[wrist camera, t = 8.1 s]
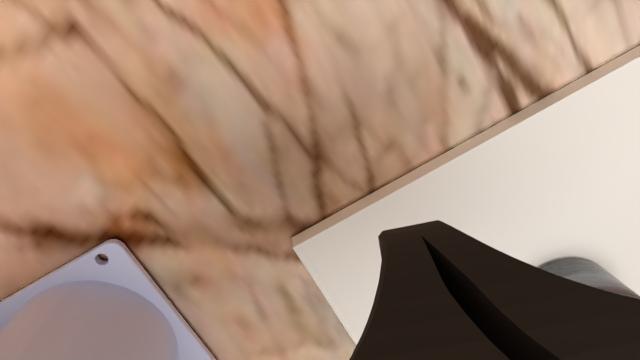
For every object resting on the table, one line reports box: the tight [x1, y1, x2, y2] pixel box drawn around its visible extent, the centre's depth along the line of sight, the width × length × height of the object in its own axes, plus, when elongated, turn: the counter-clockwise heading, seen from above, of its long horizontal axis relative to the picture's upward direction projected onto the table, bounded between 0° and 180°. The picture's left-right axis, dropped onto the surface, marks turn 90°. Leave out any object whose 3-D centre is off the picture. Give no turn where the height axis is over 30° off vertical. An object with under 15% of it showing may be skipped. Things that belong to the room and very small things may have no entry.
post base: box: [292, 45, 640, 346], centre depth 24 cm, size 18×18×1 cm
